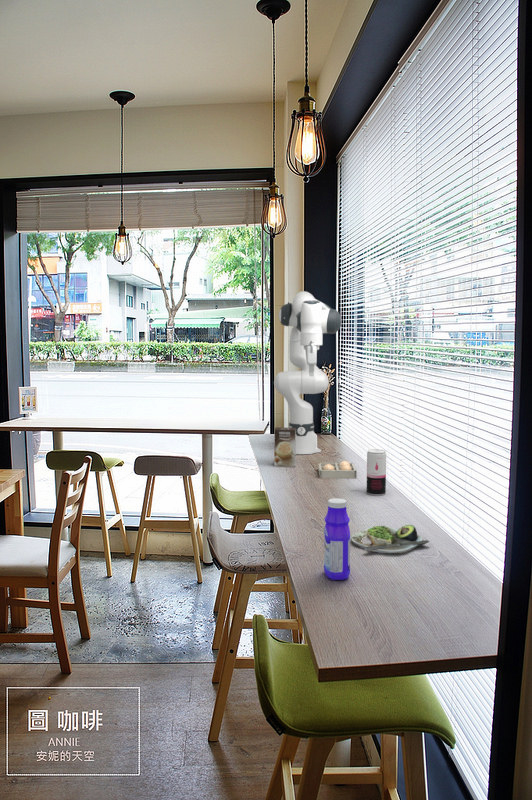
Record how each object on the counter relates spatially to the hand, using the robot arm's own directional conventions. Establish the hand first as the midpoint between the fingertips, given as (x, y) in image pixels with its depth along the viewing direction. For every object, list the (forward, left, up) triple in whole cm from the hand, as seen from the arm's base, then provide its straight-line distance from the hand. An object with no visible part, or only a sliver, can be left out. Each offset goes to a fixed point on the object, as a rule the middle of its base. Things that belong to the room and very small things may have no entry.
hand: (311, 375), depth 230 cm
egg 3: (+11, +13, -38) cm, 42 cm away
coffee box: (-10, -11, -39) cm, 42 cm away
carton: (+8, +10, -39) cm, 41 cm away
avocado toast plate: (+83, +19, -40) cm, 94 cm away
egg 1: (+11, +7, -38) cm, 41 cm away
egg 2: (+5, +13, -38) cm, 41 cm away
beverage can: (+34, +22, -39) cm, 56 cm away
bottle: (+105, +4, -39) cm, 112 cm away
